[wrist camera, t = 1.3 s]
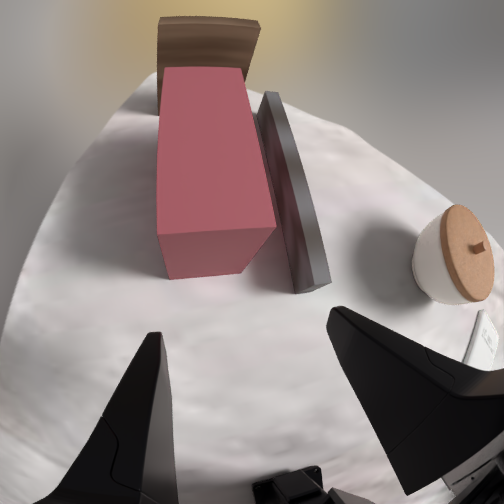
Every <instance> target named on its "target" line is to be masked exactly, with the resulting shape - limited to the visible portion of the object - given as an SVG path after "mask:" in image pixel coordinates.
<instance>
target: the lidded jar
mask: <svg viewBox="0 0 504 504" xmlns="http://www.w3.org/2000/svg"><path fill="white" fill-rule="evenodd" d="M412 272H413V276H414V279H415V281H416V283H417V285H418V286H419V288H420V289H421V290H422V291H423V292H425V293H426V294H427V295H428V296H429V297H430V298H432V299H433V300H435V301H437V302H439V303H442V304H446V305H462V304H468V303H472V302H479V301H483V300H485V299H486V298H487V297H488V296H489V294H490V292H491V290H492V287H493V283H494V261H493V255H492V250H491V246H490V243H489V240H488V238H487V235H486V233H485V231H484V229H483V227H482V225H481V224H480V222H479V220H478V219H477V218H476V217H475V215H474V214H473V213H472V212H471V211H470V210H469V209H467V208H466V207H464V206H462V205H453V206H451V207H450V208H448V209H447V210H446V211H445V212H443V213H442V214H440V215H439V216H437V217H436V218H435V219H433V220H432V221H431V222H430V223H429V224H428V225H427V226H426V227H425V228H424V229H423V231H422V232H421V234H420V235H419V237H418V239H417V242H416V245H415V249H414V254H413V257H412Z"/></svg>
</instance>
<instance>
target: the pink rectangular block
mask: <svg viewBox="0 0 504 504" xmlns="http://www.w3.org/2000/svg"><path fill="white" fill-rule="evenodd" d="M156 204H157V236H158V240H159V244H160V247H161V251H162V255H163V258H164V262H165V265H166V269H167V272H168V276H169V279H170V280H174V279H185V278H196V277H207V276H218V275H228V274H239V273H241V272H242V271H243V270H244V269H245V267H246V266H247V265H248V263H249V262H250V261H251V260H252V258H253V257H254V256H255V254H256V253H257V252H258V250H259V249H260V248H261V247H262V245H263V244H264V243H265V241H266V240H267V239H268V237H269V236H270V235H271V234H272V232H273V231H274V230H275V228H276V227H277V226H276V221H275V216H274V211H273V206H272V201H271V196H270V192H269V187H268V182H267V178H266V173H265V168H264V164H263V159H262V155H261V150H260V146H259V142H258V137H257V133H256V128H255V124H254V120H253V116H252V111H251V107H250V103H249V99H248V95H247V91H246V87H245V83H244V79H243V75H242V71H241V68H229V67H166V68H165V69H164V77H163V86H162V95H161V105H160V117H159V131H158V150H157V189H156Z"/></svg>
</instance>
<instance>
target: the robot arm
mask: <svg viewBox="0 0 504 504" xmlns="http://www.w3.org/2000/svg"><path fill="white" fill-rule="evenodd" d="M326 329H327V333H328V335H329V338H330V340H331V343H332V345H333V348H334V350H335V353H336V355H337V358H338V360H339V363H340V365H341V367H342V369H343V371H344V373H345V375H346V377H347V379H348V380H349V382H350V384H351V386H352V388H353V390H354V392H355V394H356V396H357V398H358V399H359V401H360V403H361V405H362V407H363V409H364V411H365V413H366V415H367V417H368V419H369V421H370V423H371V425H372V427H373V429H374V431H375V433H376V435H377V437H378V439H379V441H380V443H381V445H382V447H383V449H384V451H385V453H386V454H387V457H388V459H389V461H390V463H391V465H392V467H393V469H394V471H395V473H396V475H397V477H398V479H399V482H400V484H401V486H402V488H403V490H404V492H405V494H406V495H407V496H408V495H410V494H412V493H414V492H416V491H418V490H420V489H422V488H423V487H425V486H427V485H429V484H431V483H432V482H434V481H436V480H438V479H439V478H442V480H443V481H444V483H445V484H446V486H447V488H448V489H449V490H451V489H452V491H453V492H454V494H455V496H456V497H455V498H454V499H453V500H452V501H451V502H450V503H448V504H504V368H503V369H499V370H494V371H484V370H480V369H477V368H474V367H472V366H469V365H466V364H464V363H461V362H459V361H456V360H453V359H451V358H449V357H446V356H444V355H442V354H439V353H437V352H435V351H433V350H431V349H429V348H427V347H424V346H423V345H421V344H419V343H417V342H415V341H413V340H411V339H409V338H407V337H405V336H403V335H401V334H399V333H397V332H394V331H392V330H390V329H388V328H386V327H384V326H382V325H380V324H378V323H376V322H374V321H372V320H370V319H368V318H366V317H364V316H362V315H360V314H358V313H356V312H354V311H352V310H350V309H348V308H346V307H344V306H337V307H333V308H332V309H331V311H330V314H329V318H328V321H327V325H326ZM102 416H103V417H102ZM102 416H101V417H100V419H99V421H98V423H97V425H96V427H95V429H94V431H93V432H92V434H91V436H90V438H89V440H88V441H87V443H86V444H85V446H84V447H83V449H82V451H81V452H80V454H79V455H78V457H77V458H76V460H75V461H74V463H73V464H72V466H71V467H70V469H69V470H68V472H67V473H66V475H65V476H64V478H63V479H62V481H61V482H60V484H59V485H58V486H57V487H56V488H55V490H54V491H53V492H51V493H50V494H49V495H48V496H46V497H45V498H43V499H41V500H39V501H37V502H35V503H33V504H179V501H178V493H177V483H176V471H175V458H174V442H173V418H172V395H171V387H170V379H169V371H168V363H167V354H166V349H165V345H164V340H163V336H162V333H161V332H149V333H148V334H147V335H146V337H145V339H144V340H143V342H142V344H141V346H140V347H139V349H138V351H137V352H136V354H135V356H134V358H133V359H132V361H131V363H130V365H129V366H128V368H127V370H126V372H125V373H124V375H123V377H122V379H121V381H120V382H119V384H118V386H117V388H116V390H115V391H114V393H113V395H112V397H111V399H110V401H109V402H108V404H107V406H106V408H105V410H104V412H103V414H102ZM316 469H317V470H316ZM315 470H316V471H315ZM314 471H315V472H314ZM257 486H260V487H259V488H256V487H257ZM252 491H253V496H254V500H255V504H375V503H373V502H371V501H370V500H368V499H365V498H362V497H359V496H356V495H353V494H350V493H347V492H344V491H341V490H338V489H336V488H333V487H332V488H331V489H330V490H329V491H328V494H327V493H326V492H325V491H324V490H323V482H322V473H321V468H320V467H318V466H313V467H310V468H307V469H304V470H298V471H295V472H292V473H288V474H285V475H281V476H278V477H275V478H273V479H269V480H265V481H261V482H256V483H254V484H253V485H252Z"/></svg>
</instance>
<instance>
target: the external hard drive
mask: <svg viewBox="0 0 504 504" xmlns="http://www.w3.org/2000/svg"><path fill="white" fill-rule="evenodd" d="M498 341H499V335H498V333H497V331H496V329H495V327H494V325H493V324H492V322H491V320H490V318H489V316H488V315H487V313H486V311H485V310H484V309H483V310H480V311H479V315H478V318H477V322H476V325H475V329H474V332H473V336H472V339H471V342H470V345H469V348H468V351H467V354H466V357H465V359H464V362H463V363H464V364H466V365H469V366H472V367H474V368H477V369H480V370H484V371H490V370H491V367H492V363H493V360H494V356H495V352H496V349H497V345H498Z"/></svg>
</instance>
